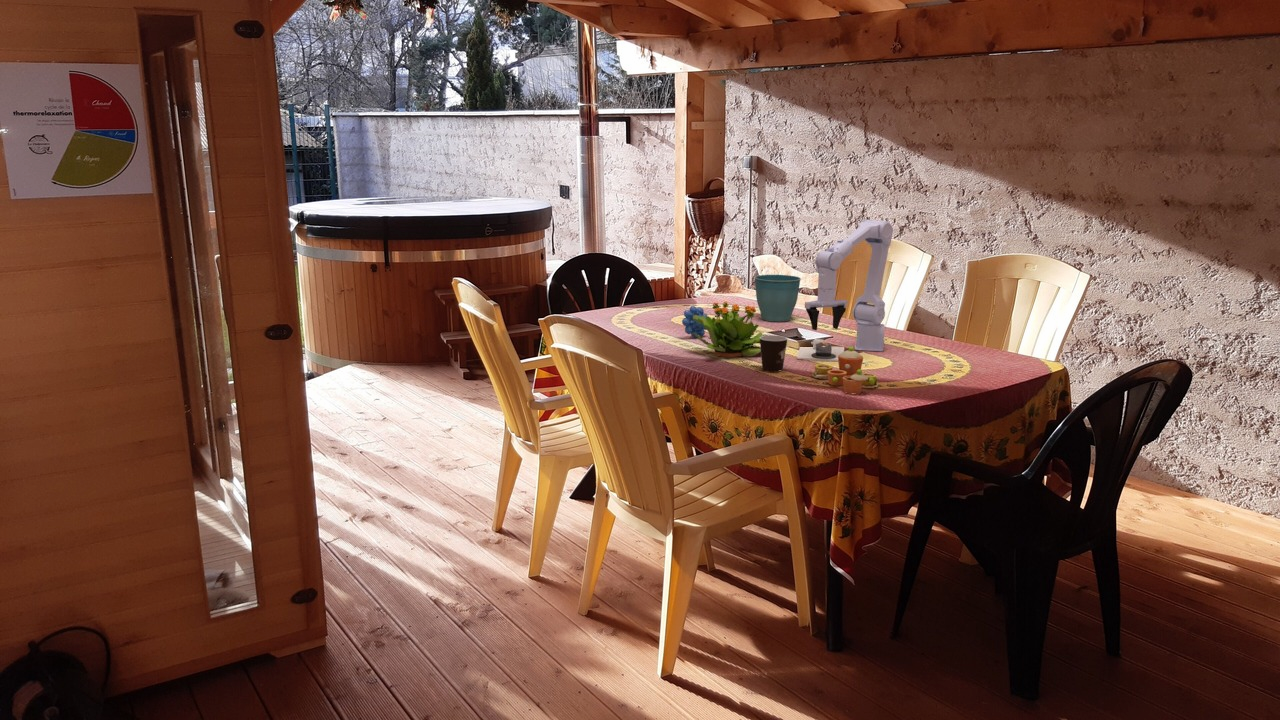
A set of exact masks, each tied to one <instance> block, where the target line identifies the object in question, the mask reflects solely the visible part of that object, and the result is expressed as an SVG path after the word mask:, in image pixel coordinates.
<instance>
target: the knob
mask: <svg viewBox="0 0 1280 720" xmlns="http://www.w3.org/2000/svg"><path fill="white" fill-rule="evenodd" d="M831 351H832V344H831V343H828V342H826V343H823V342H820V343H817V344H816V351H815V355H816V356H820V357H829V356H831Z"/></svg>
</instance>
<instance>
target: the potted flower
mask: <svg viewBox="0 0 1280 720" xmlns="http://www.w3.org/2000/svg"><path fill="white" fill-rule="evenodd" d="M729 305H730V304H728V301H727V300H725V301H724V302H723V303H722V306H721V304H720V305H719V302H718V301H717V302H713V303H712V307H711V308H712V309H713V310H714V311H713V312H714V317H711V316H706V318H705V317H704V316H700V317H698V316H697V315H693V318H694V319H693V320H694V321H696V322H699V323H700V324H702V325H703V326H704V327H705V328H706V329H707V330H706V331H707V332H708V333H709V337H708V336H707V338H708V339H709V340H710V342H708V341H707V340H706V339H703V338H702V336H699V335H697V334H695V333H694V334H695V336H696V337H697V338H698V339H699V341H701V342H702V344H704V345H706V346H707V348H708V349H711V350H714V354H715V355H716V356H717V355H718V357H722V358H739V357H742V356H744V357H748V358H750V357H754V356H756V355H758V354H759V353H760V354H761V347H760V346H758V345H757V344H759V345H760V337H761V336H767V335H768V334H764V335H763V333H762V332H759V333H757V334H756V335H755V331H757V328H758V327H759V326H760V325H759V324H757V323H756V324H755V325H754V322H753V321H752V319H753V318H754V317H755V313H757V311H756V309H757V308H756V307H754V306H749V305H747V306H744V313H746V315H744V316H740V314H739V311H740V308H741V307H740V305H738V304H733V305H732V306H731V310H729V309H728V307H729ZM720 316H721V317H720ZM745 319H746V320H745ZM749 320H750V321H749ZM748 321H749V322H748ZM692 333H693V332H692ZM754 335H755V336H754ZM753 336H754V337H753Z"/></svg>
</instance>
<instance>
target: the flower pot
mask: <svg viewBox="0 0 1280 720" xmlns="http://www.w3.org/2000/svg"><path fill="white" fill-rule="evenodd" d="M801 279H802V278H801V277H799V276H796V275H795V276H794V275H788V274H761V275H755V276H754V281H755V284H754V285H755V296H756V302H757V306H758V309H759V312H760V319H761V320H762V321H767V322H775V323H776V322H778V323H779V322H781V323H782V322H783V323H784V322H789V321H791V320H792V315H793V312H794V309H795V308H796V304H797V302H798V298H799V290H800V282H801Z"/></svg>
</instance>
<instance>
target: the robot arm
mask: <svg viewBox="0 0 1280 720" xmlns="http://www.w3.org/2000/svg"><path fill="white" fill-rule="evenodd" d="M893 232H894V228H893V226H892V223H890V221H888V220H884V221H883V220H873V219H867V218H865V219H862V220H861V222H858V225H857V228H856V229H855V230H854V231H853V232H851V234H850V235H849V236H848V237H847V238H840V239H839V238H838V239H837V241H836V242H835V243H834V244H833V245H832V246H830V247H828V249H826V250H821V251H820V252H818V253H817V255H816V259H815V260H814V262H815V263H814V264H815V266H816V270H817V271H816V272H817V274H818V278H817V279H818V281H817V282H818V283H817V300H812V301H805V302H804V309H805V310H806V311H805V312H806V313H807V315H808V317H809V320H810V323H811V324H810V325H811V329H812V330H813V331H818V320H819V316H820V310H818V309H821V308H831V309H832V317H833V318H832V328H833V329H835V330H838V329H839V325H840V322H841V320H842V318H843V315H844V314H845V312H846V311H847V308H846V307H848V300H846V299H836V295H837V293H836V292H837V273H838V272H837V270H838V269H840V267H841V265H842V262H843V260H844V259H846V258H847V257H848V256H849V255H851V253H853V250H854V247H856V246H857V245H859V244H860V243H861V242H863V241H865V242H866V243H867V244H868V245H870V247H871V253H870V260H869V265H868V271H867V275H866V280H865V286H864V290H863V294H862V295H860V296H858V297H857V298H856V300H855V304H854V307H853V308H852V317H853V319H854V320H855V323H857V325H856V337H855V340H856V341H855V342H856V343H855V344H854V351H869V352H872V351H873V352H884V346H885V324H884V323H882V322H883V321H884V319H885V315H886V311H885V307H886V303H885V301H884V300H883V299H882V298H881V295H880V293H881V290H882V285H883V280H884V276H885V275H884V274H885V271H886V265H887V258H888V256H889V255H888V254H889V249H890V246H891V243H892V238H893Z"/></svg>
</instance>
